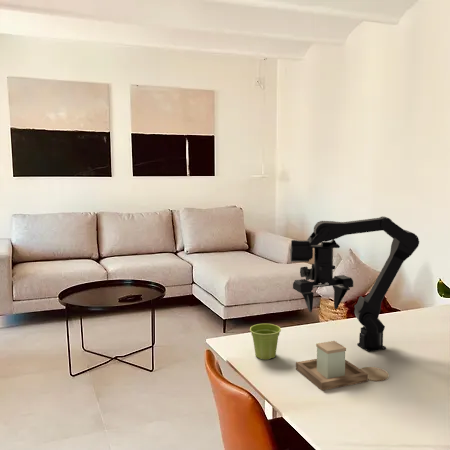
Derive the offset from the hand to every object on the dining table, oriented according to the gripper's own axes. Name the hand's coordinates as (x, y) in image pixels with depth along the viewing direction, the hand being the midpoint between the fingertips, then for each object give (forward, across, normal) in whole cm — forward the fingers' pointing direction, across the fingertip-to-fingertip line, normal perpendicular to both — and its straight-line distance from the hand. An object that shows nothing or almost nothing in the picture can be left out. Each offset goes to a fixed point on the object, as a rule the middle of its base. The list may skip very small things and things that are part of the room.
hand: (323, 310), depth 152 cm
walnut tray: (+12, +9, +19) cm, 24 cm away
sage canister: (+11, +9, +19) cm, 24 cm away
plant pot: (+12, +20, 0) cm, 23 cm away
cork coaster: (+12, -2, +23) cm, 26 cm away
